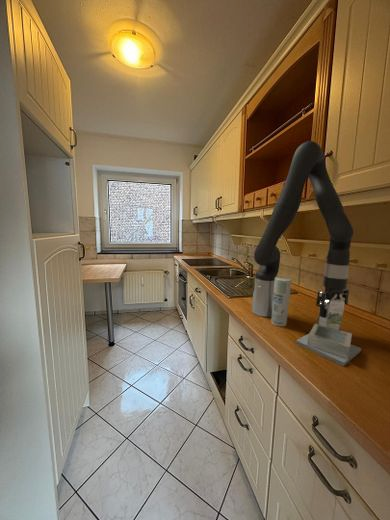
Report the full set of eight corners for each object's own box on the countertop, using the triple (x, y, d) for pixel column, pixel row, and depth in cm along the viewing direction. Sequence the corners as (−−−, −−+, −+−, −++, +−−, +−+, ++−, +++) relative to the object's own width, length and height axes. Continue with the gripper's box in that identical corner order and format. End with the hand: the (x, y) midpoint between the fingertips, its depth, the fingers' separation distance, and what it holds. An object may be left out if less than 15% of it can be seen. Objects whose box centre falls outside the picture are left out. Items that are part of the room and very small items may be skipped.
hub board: (295, 343, 75) (296, 340, 75) (315, 332, 83) (315, 330, 83) (343, 366, 63) (344, 362, 63) (360, 351, 71) (361, 348, 71)
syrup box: (329, 329, 87) (334, 296, 84) (339, 336, 81) (345, 301, 79) (316, 329, 86) (320, 295, 84) (325, 336, 81) (330, 300, 78)
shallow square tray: (307, 345, 72) (308, 334, 71) (313, 333, 81) (315, 323, 80) (347, 359, 65) (349, 347, 64) (350, 344, 73) (352, 333, 73)
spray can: (289, 324, 90) (294, 279, 87) (280, 327, 87) (285, 281, 84) (276, 318, 96) (280, 276, 92) (267, 321, 92) (271, 277, 89)
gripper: (339, 272, 86) (334, 310, 88) (313, 274, 81) (308, 314, 83) (358, 276, 79) (352, 317, 81) (331, 279, 74) (326, 322, 76)
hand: (330, 315), depth 82 cm, fingers open, 8 cm apart
